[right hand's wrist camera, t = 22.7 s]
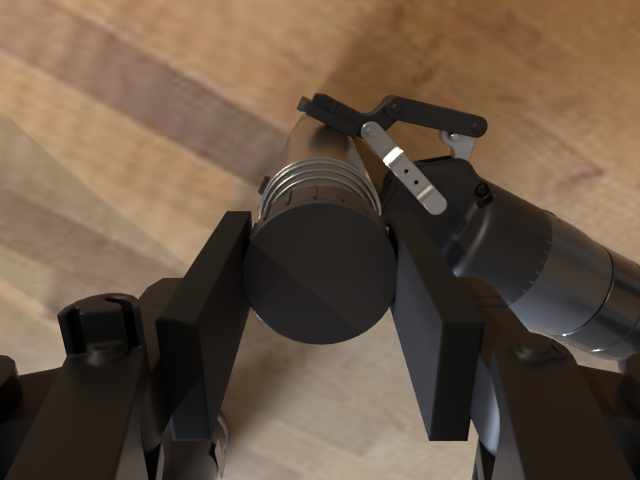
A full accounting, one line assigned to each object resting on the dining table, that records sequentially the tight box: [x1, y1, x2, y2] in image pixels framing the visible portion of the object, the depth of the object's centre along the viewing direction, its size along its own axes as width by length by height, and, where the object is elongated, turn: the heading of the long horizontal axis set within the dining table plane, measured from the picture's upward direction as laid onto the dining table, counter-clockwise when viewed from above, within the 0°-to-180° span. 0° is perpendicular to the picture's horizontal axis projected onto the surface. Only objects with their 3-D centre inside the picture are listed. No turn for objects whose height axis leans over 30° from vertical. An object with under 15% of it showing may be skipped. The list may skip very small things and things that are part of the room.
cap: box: [243, 184, 398, 345], centre depth 13 cm, size 4×4×2 cm
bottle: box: [259, 116, 382, 219], centre depth 24 cm, size 5×5×22 cm
